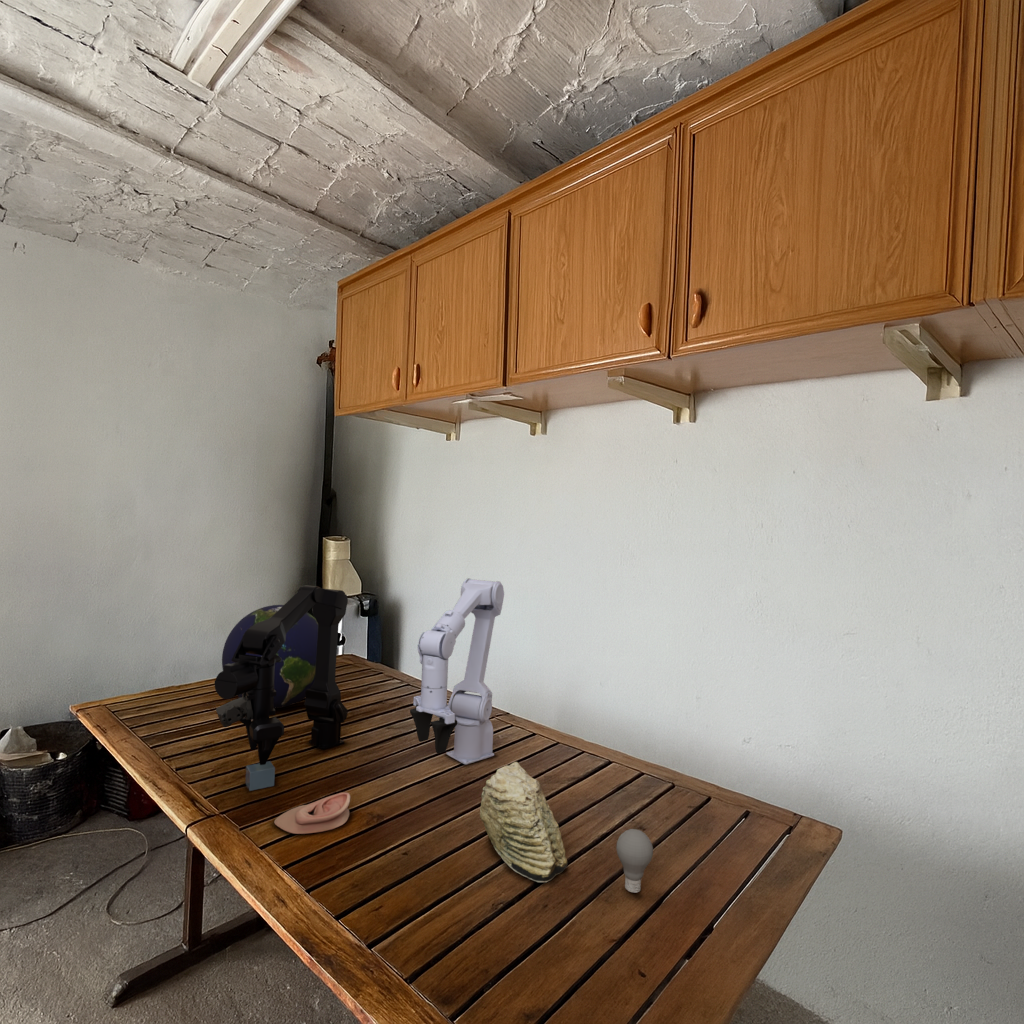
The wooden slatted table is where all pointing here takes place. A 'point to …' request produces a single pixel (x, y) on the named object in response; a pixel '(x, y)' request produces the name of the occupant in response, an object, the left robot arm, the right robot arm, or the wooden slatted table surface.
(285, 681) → the globe
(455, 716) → the right robot arm
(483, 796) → the fossil
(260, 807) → the wooden slatted table surface
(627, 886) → the light bulb
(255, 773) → the brick
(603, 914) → the wooden slatted table surface
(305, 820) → the anatomical model
